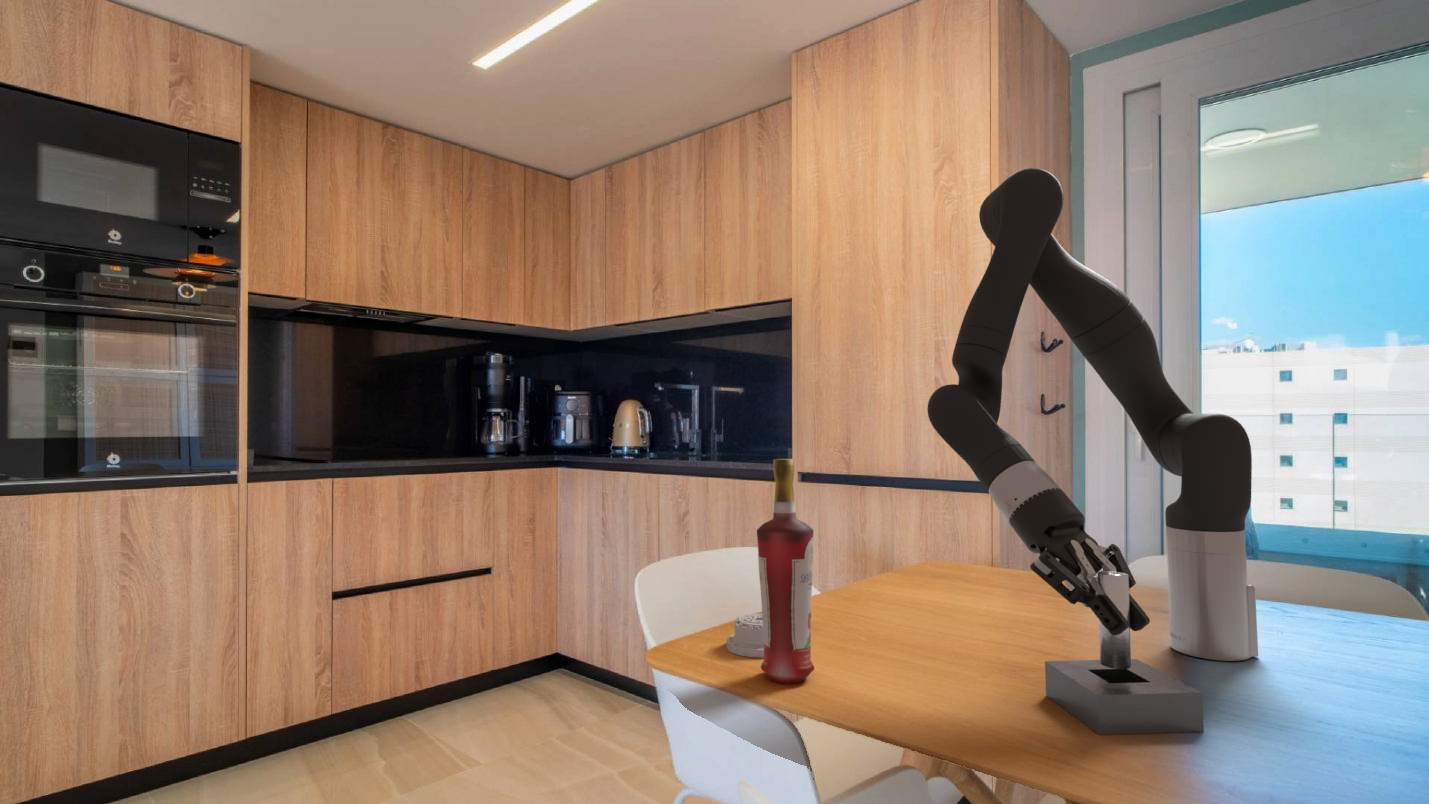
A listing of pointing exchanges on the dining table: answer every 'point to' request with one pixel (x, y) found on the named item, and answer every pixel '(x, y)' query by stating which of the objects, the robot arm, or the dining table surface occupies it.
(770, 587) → the liquor
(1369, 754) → the dining table surface
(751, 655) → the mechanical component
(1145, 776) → the dining table surface
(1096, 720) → the square hole block
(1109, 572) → the steel pin
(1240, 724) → the dining table surface
